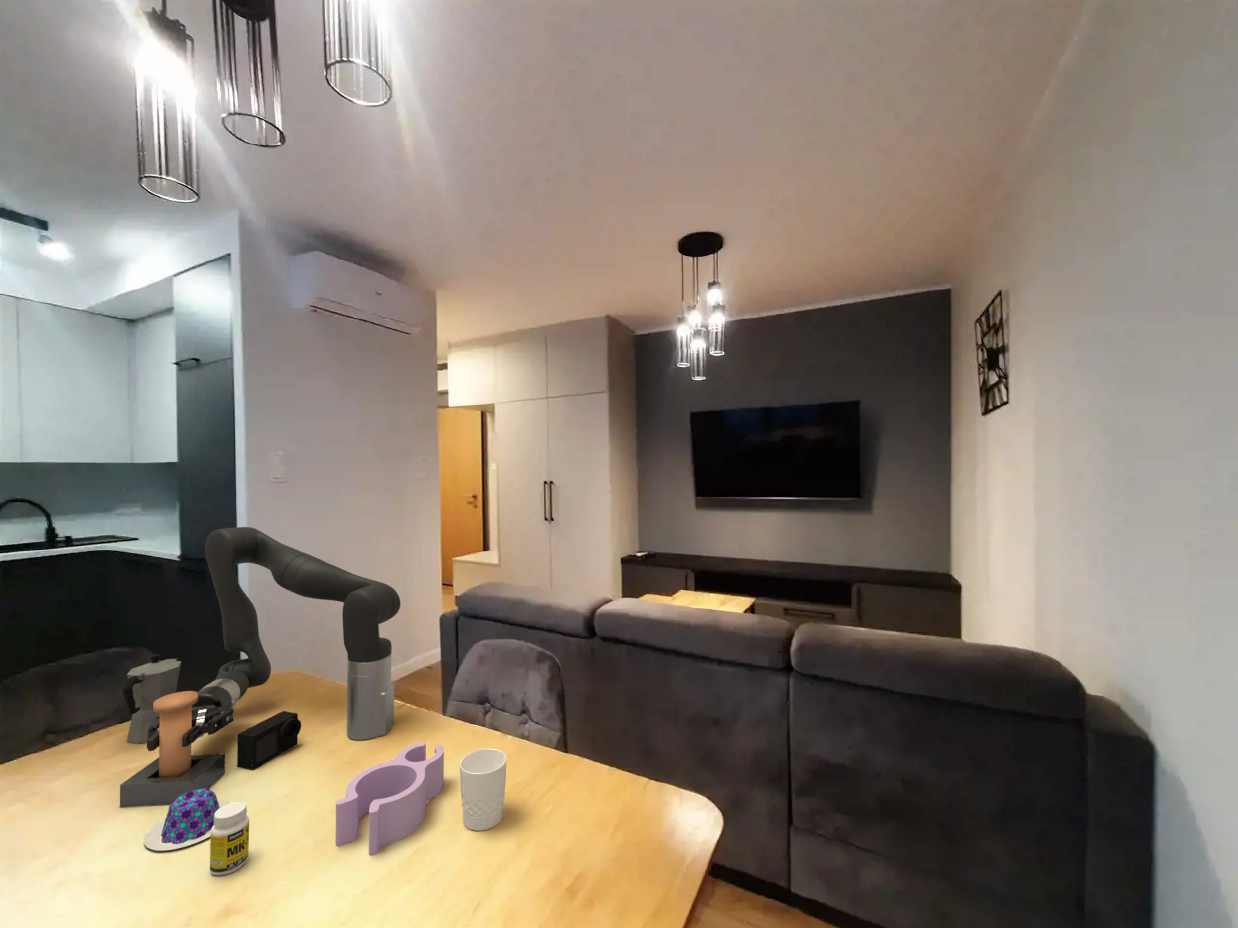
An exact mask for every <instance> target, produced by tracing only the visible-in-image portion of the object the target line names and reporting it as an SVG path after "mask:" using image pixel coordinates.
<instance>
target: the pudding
mask: <svg viewBox="0 0 1238 928" xmlns="http://www.w3.org/2000/svg"><path fill="white" fill-rule="evenodd" d="M229 803H230V802H229V801H223V800H221V801H219V800H218V798H217V795H216V793H215V792H214V790H211V789H210V788H209V789H207V788H204V789H196V790H193V791H190V792H189V793H185V794H183V795H181V796H179V797H178V798H177V799H176V800H174V801H173V802H172V803H171V804H170V805H169V806H168V811H167V813H166V817H165V818H164V819H162V820H161V821H158V823H156V824H155V825H154V826H153V827H152V828H150V829H149V831H148V832H147V833H146V835H145V837H144V840H143V843H144V845H145V846H146V848H147V849H150V850H151V851H171V850H176V849H177V850H178V849H180V848H185V847H189V846H190V845H191V846H192V845H193V844H197V843H199V842H202V841H203V840H206V839H208V838H210V837H211V829H212V827H213V826H214V814H215V812H216V811H217V810H218V809H219V808H221V807H223V806H225V805H227V804H229ZM209 831H210V832H209ZM160 837H161V840H160ZM187 841H188V842H187ZM169 843H171V844H172V845H171V844H169Z"/></svg>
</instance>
